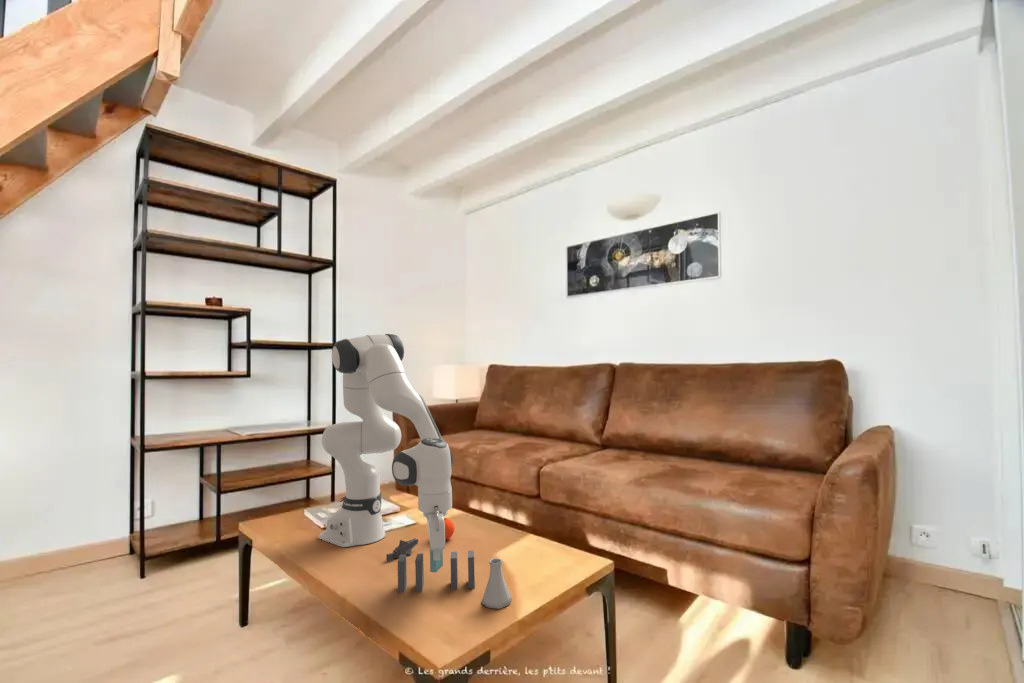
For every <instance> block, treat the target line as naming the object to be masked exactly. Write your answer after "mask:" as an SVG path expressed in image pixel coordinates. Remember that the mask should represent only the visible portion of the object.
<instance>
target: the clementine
mask: <svg viewBox="0 0 1024 683" xmlns="http://www.w3.org/2000/svg"><path fill="white" fill-rule="evenodd" d="M444 523H445V541H447V540H449V539H450V538H451V537H453V535H454V533H455V529H456V528H455V524H454V522H453V521H452V519H450V518H448V517H444Z"/></svg>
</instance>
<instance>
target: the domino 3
mask: <svg viewBox="0 0 1024 683" xmlns="http://www.w3.org/2000/svg"><path fill="white" fill-rule="evenodd" d="M443 550H444V549H443ZM443 550H441V552H440V560H436V561H435V560H434V559H433V551H432V550H431V549H430V548H429V569H430V570H429V573H437V572H438V571H439V570H440V569H441V568H442V567H443V566H444V555H443V554H444V553H443V552H444V551H443Z"/></svg>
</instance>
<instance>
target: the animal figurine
mask: <svg viewBox="0 0 1024 683" xmlns="http://www.w3.org/2000/svg"><path fill="white" fill-rule="evenodd" d="M417 545H419V539H417V538H416V537H414V538H413V539H409V540H408V541H407V540H406V541H405V540H403V539H400V540H399V544H398V545H397V547H395V548H394V549H393V550H392V552H390V553H386V554H385V555H386V556H385V557H386V558H385V559H386V562H387V563H389V562H391V561H393V560H394V559H395V558H396V559H399V556H400V555H403V554H406V556H412V550H414V548H416V546H417Z"/></svg>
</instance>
